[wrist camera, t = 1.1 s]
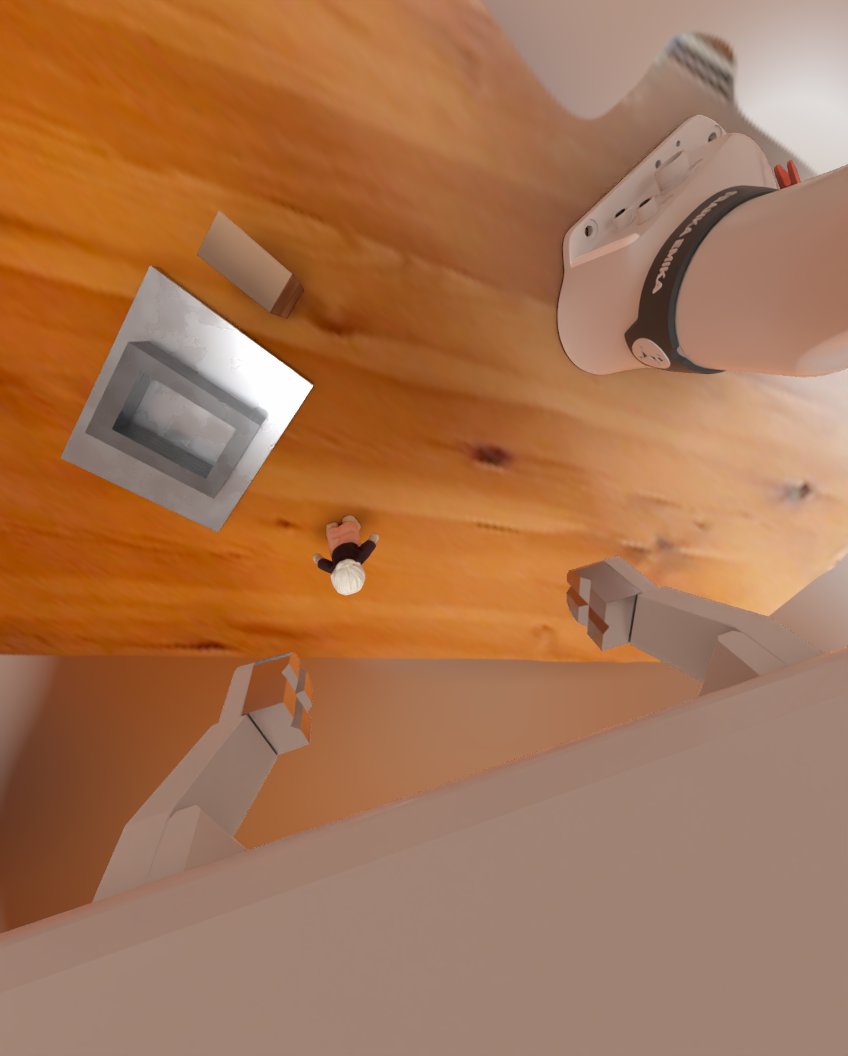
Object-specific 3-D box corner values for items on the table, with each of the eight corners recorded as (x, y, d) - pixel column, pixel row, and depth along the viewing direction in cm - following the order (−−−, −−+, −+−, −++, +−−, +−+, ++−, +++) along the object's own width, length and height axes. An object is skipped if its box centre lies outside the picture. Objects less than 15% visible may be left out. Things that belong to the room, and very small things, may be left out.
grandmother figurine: (330, 552, 47) (327, 619, 36) (311, 531, 45) (303, 594, 34) (380, 522, 46) (393, 580, 35) (363, 499, 44) (372, 553, 33)
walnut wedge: (251, 244, 31) (218, 210, 22) (303, 289, 33) (292, 273, 25) (235, 276, 32) (196, 254, 23) (287, 318, 34) (269, 312, 25)
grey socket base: (156, 267, 30) (128, 257, 26) (313, 384, 37) (310, 390, 33) (68, 454, 35) (33, 469, 31) (221, 527, 42) (208, 548, 38)
